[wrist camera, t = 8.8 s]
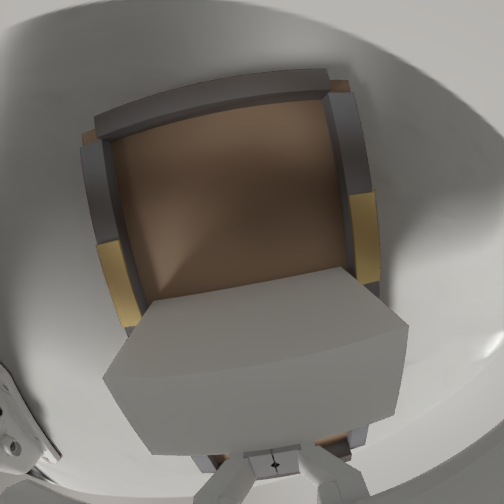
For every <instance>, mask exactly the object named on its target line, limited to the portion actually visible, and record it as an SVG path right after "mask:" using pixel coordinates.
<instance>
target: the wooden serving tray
mask: <svg viewBox="0 0 504 504" xmlns="http://www.w3.org/2000/svg"><path fill="white" fill-rule="evenodd" d="M94 120H95V129H93V130H91V131H88V132H86V133H84V134H82V139H83V147H81V148H80V153H81V161H82V169H83V176H84V182H85V188H86V194H87V199H88V204H89V209H90V214H91V219H92V224H93V228H94V232H95V236H96V240H97V244H98V245H96V248H97V251H98V255H99V259H100V262H101V266H102V269H103V272H104V276H105V279H106V282H107V285H108V288H109V291H110V294H111V297H112V300H113V303H114V306H115V309H116V312H117V314H118V317H119V320H120V322H121V325H122V327H124V328H125V331H126V333H127V336H128V337H129V336H130V334H131V333H132V331H133V330H134V328H135V327H136V325H137V324H138V323H139V321H140V320H141V318H142V317H143V315H144V314H145V312H146V311H147V309H148V308H149V307H150V305H151V304H152V302H153V301H156V300H162V299H169V298H175V297H181V296H187V295H193V294H199V293H205V292H211V291H217V290H222V289H228V288H234V287H239V286H245V285H250V284H255V283H261V282H266V281H271V280H276V279H282V278H287V277H292V276H297V275H302V274H306V273H311V272H316V271H321V270H326V269H330V268H335V267H340V266H341V267H342V268H343V269H344V270H345V271H347V272H348V273H349V274H350V275H351V276H353V277H354V278H355V279H356V280H357V281H359V282H360V283H361V284H362V285H363V286H364V287H366V288H367V289H368V290H369V291H370V292H371V293H373V294H374V295H375V296H376V297H377V298H378V299H379V280H380V269H381V259H380V241H379V227H378V216H377V206H376V198H375V190H372V185H371V178H370V171H369V165H368V159H367V153H366V148H365V142H364V137H363V132H362V128H361V123H360V118H359V114H358V110H357V106H356V102H355V98H354V94H353V93H351V91H350V87H349V83H348V80H329V77H328V74H327V70H326V69H297V70H283V71H272V72H262V73H254V74H247V75H240V76H234V77H228V78H222V79H217V80H212V81H207V82H202V83H197V84H193V85H189V86H185V87H181V88H177V89H173V90H169V91H166V92H162V93H159V94H156V95H152V96H149V97H146V98H143V99H140V100H137V101H134V102H131V103H128V104H125V105H122V106H120V107H117V108H114V109H112V110H109V111H107V112H104V113H102V114H99V115H97V116H95V117H94ZM368 426H369V425H366V426H363V427H360V428H357V429H353V430H350V431H347V432H344V433H340V434H337V435H333V436H330V437H326V438H322V439H318V440H314V443H315V446H318V445H319V446H321V447H322V448H324V449H325V450H327V451H328V452H330V453H331V454H333V455H334V456H336V457H337V458H339V459H340V460H342V461H344V462H347V461H350V460H351V456H352V454H351V451H350V449H354V448H357V447H360V446H363V445H365V442H366V437H367V432H368ZM191 458H192V459H193V461H194V462H195V464H196V465H197V466H198V468H199V469H200V471H201V472H202V473H215V472H216V471H217V470H218V469H219V467H220V466H221V465H222V464H223V463H224V461H225V460H228V459H230V454H220V455H195V456H191ZM275 463H276V462H275ZM276 470H277V467H276ZM295 474H300V471H298V472H292V473H286V474H278V471H277V475H273V476H267V477H260V478H256V480H263V479H270V478H277V477H283V476H289V475H295Z"/></svg>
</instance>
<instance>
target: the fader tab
mask: <svg viewBox="0 0 504 504" xmlns="http://www.w3.org/2000/svg"><path fill="white" fill-rule="evenodd" d="M408 329H409V325H408V324H407V323H406V322H405V321H403V320H402V319H401V318H400V317H399V316H398V315H397V314H396V313H394V312H393V311H392V310H391V309H390V308H389V307H388V306H386V305H385V304H384V303H383V302H382V301H381V300H380V299H378V298H377V297H376V296H375V295H374V294H373V293H371V292H370V291H369V290H368V289H367V288H366V287H364V286H363V285H362V284H361V283H360V282H359V281H357V280H356V279H355V278H354V277H353V276H351V275H350V274H349V273H348V272H347V271H345V270H344V269H343V268H342V267H341V266H340V267H335V268H330V269H326V270H321V271H316V272H311V273H306V274H302V275H297V276H292V277H287V278H282V279H276V280H271V281H266V282H261V283H255V284H250V285H245V286H239V287H234V288H228V289H222V290H217V291H211V292H205V293H199V294H193V295H187V296H181V297H175V298H169V299H162V300H156V301H153V302H152V304H151V305H150V307H149V308H148V309H147V311H146V312H145V314H144V315H143V317H142V318H141V320H140V321H139V323H138V324H137V325H136V327H135V328H134V330H133V331H132V333H131V334H130V336H129V337H128V339H127V340H126V342H125V343H124V345H123V346H122V348H121V349H120V351H119V353H118V354H117V356H116V357H115V359H114V360H113V362H112V363H111V365H110V366H109V368H108V370H107V371H106V373H105V374H104V376H103V380H104V382H105V384H106V385H107V387H108V389H109V391H110V392H111V394H112V396H113V398H114V399H115V401H116V403H117V404H118V406H119V407H120V409H121V411H122V412H123V414H124V415H125V417H126V418H127V420H128V421H129V423H130V424H131V426H132V427H133V429H134V430H135V432H136V433H137V435H138V436H139V437H140V439H141V440H142V442H143V443H144V444H145V446H146V447H147V448H148V450H149V451H150V452H151V454H152V455H176V456H195V455H220V454H230V453H238V452H250V451H259V450H266V449H273V448H279V447H285V446H290V445H295V444H300V443H304V442H308V441H314V440H318V439H322V438H326V437H330V436H333V435H337V434H340V433H344V432H347V431H350V430H353V429H357V428H360V427H363V426H366V425H369V424H371V423H374V422H377V421H380V420H382V419H385V418H387V417H390V416H392V415H394V413H395V408H396V404H397V399H398V395H399V390H400V385H401V379H402V374H403V368H404V361H405V354H406V347H407V338H408Z"/></svg>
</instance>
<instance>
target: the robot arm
mask: <svg viewBox="0 0 504 504" xmlns="http://www.w3.org/2000/svg"><path fill="white" fill-rule="evenodd" d="M60 459H61V458H60V456H59V455H58V453H57V452H56V451H55V449H54V448H53V446H52V445H51V444H50V442H49V441H48V439H47V438H46V436H45V435H44V434H43V432H42V431H41V429H40V427H39V426H38V424H37V423H36V421H35V420H34V418H33V416H32V415H31V413H30V411H29V410H28V408H27V406H26V404H25V403H24V401H23V399H22V397H21V395H20V393H19V391H18V390H17V388H16V386H15V384H14V382H13V380H12V378H11V376H10V374H9V373H8V372H7V370H6V369H5V368H4V367H3V366H2V365H1V364H0V471H1V472H6V473H12V474H17V475H22V474H25V473H27V472H28V471H29V470H30V469H32V467H33V466H34V465H35V464H36V463H37V461H38V460H39V461H42V462H45V463H50V464H55V463H58V461H59V460H60ZM275 462H276V463H275ZM276 467H277V470H276ZM277 471H278V474H286V473H292V472H298V471H300V473H301V474H302V475H304V476H305V477H306V478H307V479H308V480H309V481H311V482H312V483H313V484H314V485H315V486H317V487H318V499H317V504H504V420H503V421H502V422H500V423H499V424H498V425H497V426H495V427H494V428H493V429H492V430H490V431H489V432H488V433H486V434H485V435H484V436H482V437H481V438H480V439H478V440H477V441H476V442H474V443H473V444H471V445H470V446H468V447H467V448H465V449H464V450H463V451H461V452H459V453H458V454H456V455H455V456H453V457H451V458H450V459H448V460H447V461H445V462H443V463H441V464H440V465H438V466H436V467H434V468H433V469H431V470H429V471H427V472H425V473H423V474H421V475H419V476H417V477H415V478H413V479H411V480H409V481H407V482H405V483H402V484H400V485H398V486H396V487H393V488H391V489H388V490H386V491H383V492H381V493H378V494H376V495H373V496H370V495H369V492H368V489H367V487H366V484H365V482H364V479H363V477H362V474H361V472H360V471H358V470H357V469H355V468H353V467H352V466H350V465H348V464H346V463H345V462H344V461H342V460H340V459H339V458H337V457H336V456H334V455H333V454H331V453H330V452H328V451H327V450H325V449H324V448H322V447H321V446H319V445H318V446H315V443H314V441H308V442H304V443H300V444H295V445H290V446H285V447H279V448H273V449H266V450H259V451H250V452H238V453H230V459H228V460H225V461H224V463H223V464H222V465H221V466H220V467H219V469H218V470H217V471H216V472H215V473H214V474H213V476H212V477H211V478H210V479H209V480H208V481H207V482H206V484H205V485H204V486H203V487H202V488H201V489H200V490H199V491H198V492H197V493H196V495H195V496H194V501H193V504H241V502H242V501H243V500H244V498H245V497H246V495H247V494H248V492H249V490H250V489H251V487H252V486H253V484H254V482H255V481H256V478H260V477H267V476H273V475H277ZM0 504H90V503H87V502H84V501H81V500H77V499H75V498H72V497H69V496H67V495H64V494H62V493H59V492H57V491H54V490H52V489H50V488H47V487H45V486H43V485H41V484H39V483H37V482H34V481H32V480H29V479H26V480H23V481H20V482H18V483H16V484H14V485H12V486H10V487H7V488H6V489H5V490H4V491H3V492H2V493H1V495H0Z"/></svg>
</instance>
